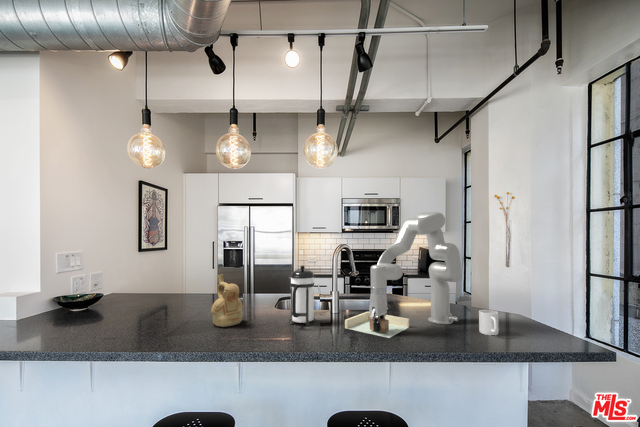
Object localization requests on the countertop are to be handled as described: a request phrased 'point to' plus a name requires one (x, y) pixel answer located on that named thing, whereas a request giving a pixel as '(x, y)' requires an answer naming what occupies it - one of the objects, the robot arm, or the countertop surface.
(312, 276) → the coffee press
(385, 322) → the copper block
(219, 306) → the ceramic vessel
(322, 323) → the countertop surface
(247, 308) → the countertop surface
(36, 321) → the countertop surface
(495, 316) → the cup
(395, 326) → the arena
